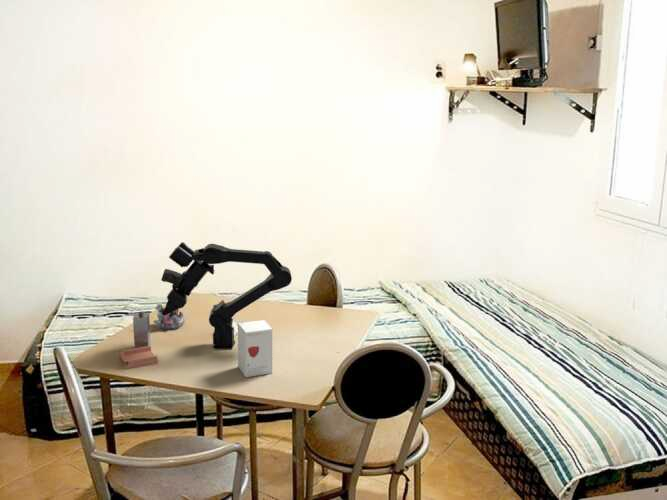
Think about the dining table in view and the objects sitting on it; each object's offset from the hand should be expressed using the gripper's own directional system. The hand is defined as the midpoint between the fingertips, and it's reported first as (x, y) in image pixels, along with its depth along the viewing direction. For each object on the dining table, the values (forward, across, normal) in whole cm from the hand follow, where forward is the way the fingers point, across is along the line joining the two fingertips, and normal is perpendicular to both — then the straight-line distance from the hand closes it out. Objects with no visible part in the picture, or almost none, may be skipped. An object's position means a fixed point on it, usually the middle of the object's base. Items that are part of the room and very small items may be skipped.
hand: (164, 310), depth 211 cm
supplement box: (-9, +21, +32) cm, 39 cm away
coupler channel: (+15, +11, +3) cm, 19 cm away
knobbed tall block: (+15, 0, +2) cm, 15 cm away
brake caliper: (+12, -21, +8) cm, 25 cm away
